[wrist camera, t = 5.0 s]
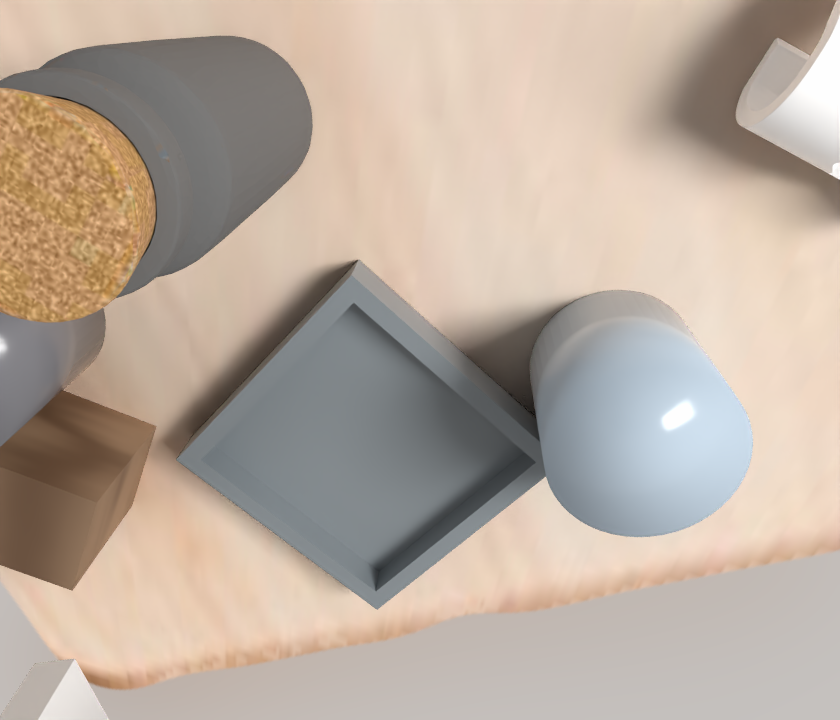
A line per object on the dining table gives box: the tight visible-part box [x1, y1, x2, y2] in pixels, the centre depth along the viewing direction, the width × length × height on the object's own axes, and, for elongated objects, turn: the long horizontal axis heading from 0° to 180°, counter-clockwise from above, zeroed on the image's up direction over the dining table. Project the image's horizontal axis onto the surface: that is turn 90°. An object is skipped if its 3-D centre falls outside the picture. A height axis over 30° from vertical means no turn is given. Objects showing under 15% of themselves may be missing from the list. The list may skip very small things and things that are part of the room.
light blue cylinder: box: [530, 290, 753, 537], centre depth 28 cm, size 7×7×7 cm
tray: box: [176, 260, 546, 609], centre depth 33 cm, size 12×12×2 cm
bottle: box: [0, 36, 312, 323], centre depth 21 cm, size 6×6×15 cm
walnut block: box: [0, 390, 156, 590], centre depth 32 cm, size 5×5×6 cm
